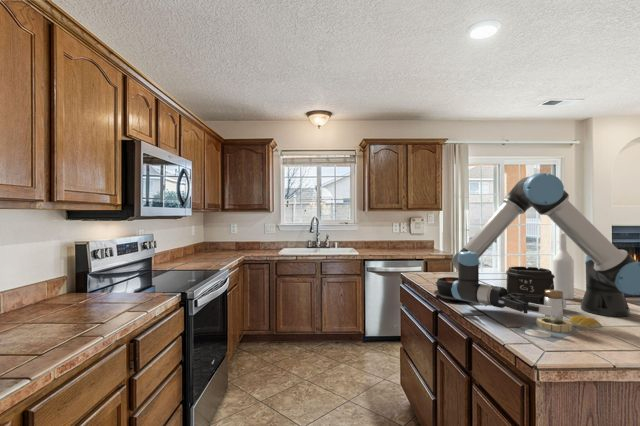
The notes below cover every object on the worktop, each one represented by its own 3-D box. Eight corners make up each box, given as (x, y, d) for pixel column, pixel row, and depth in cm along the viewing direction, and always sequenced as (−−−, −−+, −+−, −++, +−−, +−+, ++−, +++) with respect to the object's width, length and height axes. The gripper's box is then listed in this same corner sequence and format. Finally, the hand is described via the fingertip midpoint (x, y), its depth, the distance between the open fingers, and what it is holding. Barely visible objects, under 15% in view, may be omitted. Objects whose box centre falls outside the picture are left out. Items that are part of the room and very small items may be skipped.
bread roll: (580, 323, 125) (580, 312, 125) (606, 331, 116) (606, 319, 116) (562, 325, 123) (562, 313, 123) (586, 333, 114) (586, 321, 114)
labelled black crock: (540, 301, 157) (540, 266, 157) (564, 312, 139) (563, 272, 139) (498, 300, 158) (498, 265, 159) (516, 311, 141) (516, 272, 141)
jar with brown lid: (557, 325, 118) (556, 289, 118) (566, 329, 113) (566, 292, 113) (541, 324, 118) (541, 289, 118) (550, 329, 113) (550, 292, 113)
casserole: (432, 290, 179) (432, 274, 179) (472, 293, 173) (471, 276, 173) (434, 302, 155) (434, 283, 155) (480, 305, 149) (480, 286, 149)
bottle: (556, 298, 161) (555, 233, 161) (550, 295, 168) (549, 232, 169) (577, 300, 158) (576, 234, 158) (569, 296, 166) (569, 233, 166)
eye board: (541, 324, 123) (541, 314, 123) (581, 334, 113) (581, 323, 113) (511, 335, 112) (511, 324, 112) (553, 347, 102) (553, 335, 102)
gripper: (508, 300, 138) (571, 312, 122) (476, 311, 123) (544, 326, 106) (507, 281, 138) (571, 290, 122) (476, 290, 123) (544, 302, 106)
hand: (559, 307), depth 114 cm, fingers open, 13 cm apart
